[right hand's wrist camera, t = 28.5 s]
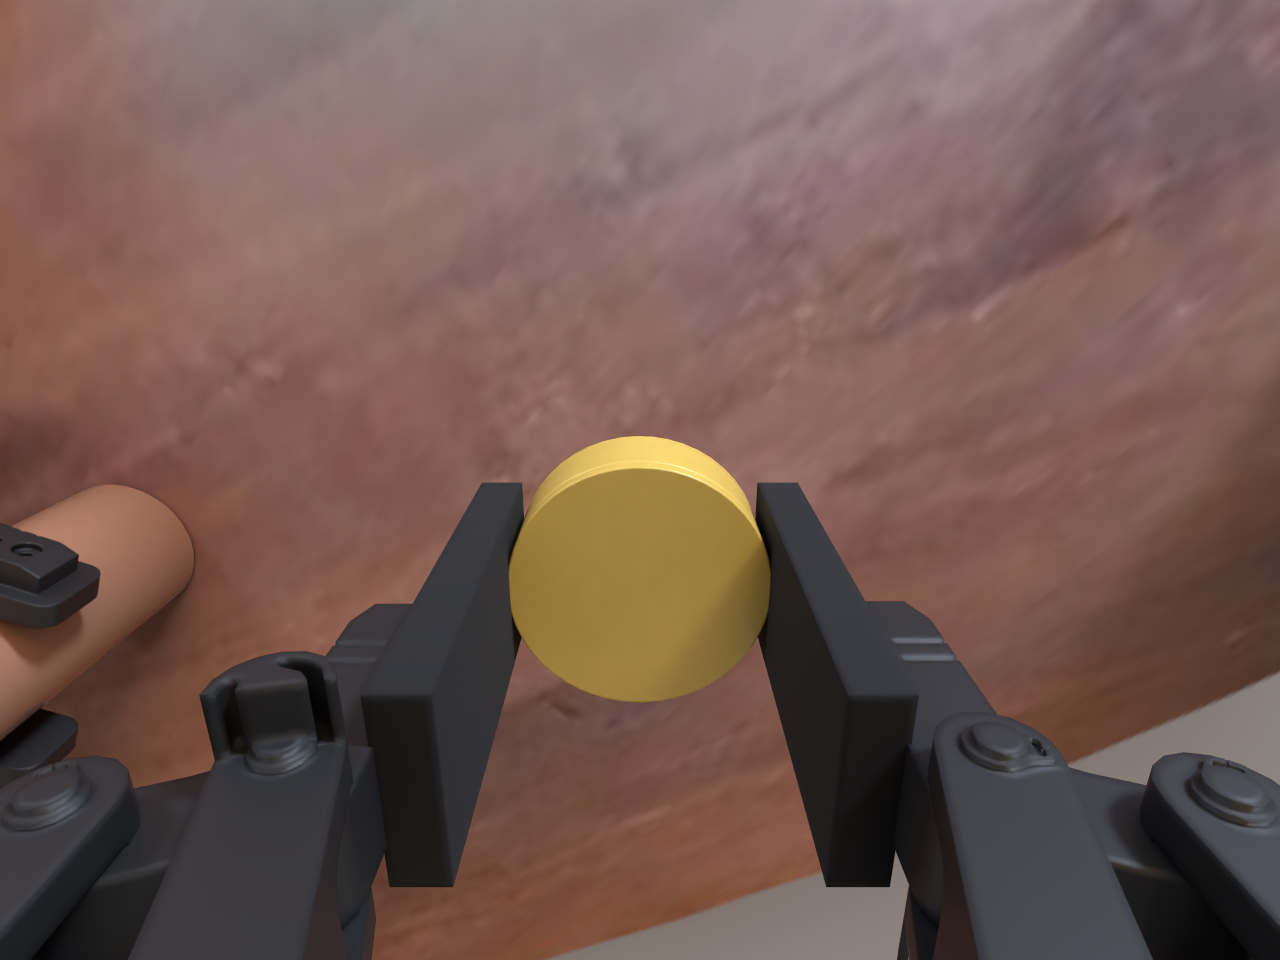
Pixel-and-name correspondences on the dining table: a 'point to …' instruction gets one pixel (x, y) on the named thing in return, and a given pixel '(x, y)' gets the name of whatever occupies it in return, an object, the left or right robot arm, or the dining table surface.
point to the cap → (639, 571)
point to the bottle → (127, 596)
